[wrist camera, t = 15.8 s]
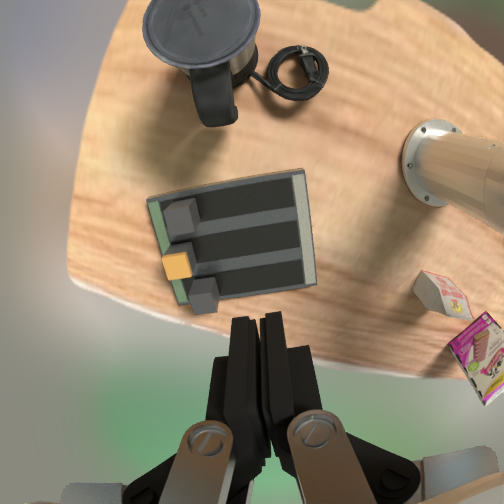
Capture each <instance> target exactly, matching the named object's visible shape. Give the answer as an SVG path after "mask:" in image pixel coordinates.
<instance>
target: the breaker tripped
mask: <svg viewBox="0 0 504 504" xmlns="http://www.w3.org/2000/svg"><path fill="white" fill-rule="evenodd" d="M161 259H162V262H163V265H164V268H165V271H166V275H167V278H168V280H175V279H181V278H188V277H192V274H193V271H194V269H195V266H196V263H197V261H196V257H195V254H194V250H193V246H192V242H185V243H180V244H174V245H169V247H168V249H167V250H166V252H165V253H164V255H163V257H162V258H161Z"/></svg>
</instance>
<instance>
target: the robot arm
mask: <svg viewBox="0 0 504 504" xmlns="http://www.w3.org/2000/svg"><path fill="white" fill-rule="evenodd" d="M421 129H422V131H421ZM407 164H408V166H407ZM402 170H403V176H404V179H405V181H406V184H407V186H408V188H409V190H410V191H411V192H412V193H413V195H414V196H415V197H416V198H418V199H419V200H420V201H422V202H423V203H425V204H428V205H430V206H436V207H440V206H445V205H448V204H450V205H452V206H454V207H456V208H458V209H459V210H461V211H463V212H465V213H467V214H468V215H470V216H472V217H474V218H475V219H477V220H479V221H480V222H482V223H484V224H485V225H487V226H489V227H490V228H492V229H494V230H495V231H497V232H499V233H500V234H502V235H504V141H500V140H495V139H490V138H485V137H480V136H475V135H469V134H463V133H462V132H461V131H460V130H459V129H458V128H457V127H456V126H455V125H453V124H452V123H450V122H448V121H446V120H441V119H430V120H426V121H424V122H422V123H420V124H418V125H417V126H416V127H415V128H414V129H413V130H412V131H411V133H410V134H409V136H408V138H407V140H406V142H405V145H404V148H403V153H402ZM265 317H266V318H260V338H259V334H258V329H257V325H256V320H255V319H253V320H250V319H249V316H244V317H236V318H232V325H231V335H230V345H229V356H223V357H215V359H214V362H213V369H212V377H211V383H210V390H209V397H208V404H207V411H206V419H205V421H201V422H198V423H196V424H194V425H192V426H191V427H190V428H189V429H188V430H187V431H186V432H185V434H184V435H183V437H182V440H181V443H180V445H179V448H178V451H177V453H176V454H174V455H173V456H171V457H170V458H168V459H167V460H166V461H164V462H163V463H161V464H160V465H158V466H157V467H155V468H153V469H152V470H151V471H149V472H147V473H146V474H144V475H143V476H141V477H139V478H138V479H136V480H135V481H133V482H132V483H131V484H129V485H123V484H122V483H70V484H69V485H67V486H66V487H65V488H64V489H63V491H62V494H61V501H60V504H250V501H251V496H252V490H253V485H254V478H255V477H256V476H257V475H258V474H260V473H261V472H262V466H265V458H271V442H272V445H273V448H274V452H275V455H276V457H279V459H280V463H281V466H282V469H283V470H284V471H285V472H287V473H288V474H290V475H291V476H293V477H294V478H295V479H296V482H297V486H298V489H299V493H300V496H301V500H302V503H303V504H504V471H503V472H499V466H498V460H497V456H496V454H495V452H494V451H493V450H492V449H491V448H489V447H486V446H476V447H473V448H468V449H464V450H460V451H456V452H451V453H446V454H440V455H435V456H429V457H424V458H423V459H422V460H417V461H410V460H408V459H406V458H403V457H401V456H398V455H396V454H394V453H391V452H388V451H386V450H384V449H382V448H379V447H377V446H375V445H373V444H371V443H368V442H366V441H364V440H362V439H359V438H357V437H355V436H353V435H351V434H349V433H347V432H345V429H344V427H343V425H342V423H341V421H340V420H339V418H338V417H337V416H335V415H334V414H333V413H331V412H328V411H325V410H323V409H322V404H321V399H320V394H319V389H318V385H317V380H316V375H315V370H314V366H313V361H312V356H311V352H310V347H309V345H306V346H300V347H293V348H287V346H286V340H285V333H284V326H283V320H282V313H281V311H279V312H272V313H266V314H265ZM24 504H59V503H53V502H43V501H37V502H28V503H24Z"/></svg>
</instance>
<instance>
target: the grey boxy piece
mask: <svg viewBox="0 0 504 504" xmlns="http://www.w3.org/2000/svg"><path fill="white" fill-rule="evenodd" d="M412 291H413V292H414V293H415V294H416V296H417V297H418V298H419V299H420V301H421V302H422V303H423V305H424V306H425V307H426V308H427V310H430V311H435V312H439V313H441V314H444V315H445V316H448V317H454V318H459V319H465V320H470V321H473V320H471V319H474V317H473V315H472V313H471V310H470V307H469V303H468V300H467V296H466V295H465V294H464V293H463V292H462V291H461V290H460V289H459V288H458V287H457V286H456V285H455V284H454V283H453V282H452V281H451V280H450V279H449V278H447V277H443V276H440V275H437V274H433V273H430V272H426V271H423V270H421V272H420V274H419V276H418V279H417V281H416V283H415V285H414V287H413V288H412Z"/></svg>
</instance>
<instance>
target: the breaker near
mask: <svg viewBox="0 0 504 504" xmlns="http://www.w3.org/2000/svg"><path fill="white" fill-rule="evenodd" d="M163 213H164V217H165V220H166V224H167V227H168V231H169V235H170V236H175V235H180V234H185V233H191V232H195V231H196V229H197V227H198V225H199V223H200V221H201V220H200V216H199V211H198V207H197V203H196V199H195V198H190V199H185V200H181V201H176V202H172V203H171V204H170V205H169V206H168V207H167V208H166V209H165V210H164V211H163Z"/></svg>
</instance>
